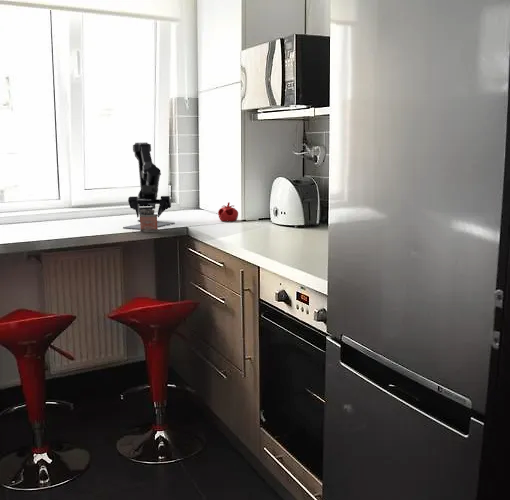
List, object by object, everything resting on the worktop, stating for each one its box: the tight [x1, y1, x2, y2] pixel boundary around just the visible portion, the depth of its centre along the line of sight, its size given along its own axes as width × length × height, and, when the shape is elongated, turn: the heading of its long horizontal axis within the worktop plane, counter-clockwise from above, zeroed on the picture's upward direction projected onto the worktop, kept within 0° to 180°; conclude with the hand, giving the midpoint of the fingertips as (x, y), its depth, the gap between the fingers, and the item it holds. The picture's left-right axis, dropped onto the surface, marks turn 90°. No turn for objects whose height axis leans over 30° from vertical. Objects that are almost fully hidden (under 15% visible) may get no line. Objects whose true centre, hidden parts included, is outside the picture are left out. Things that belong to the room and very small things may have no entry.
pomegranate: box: [217, 202, 239, 222], centre depth 297 cm, size 10×10×9 cm
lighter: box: [139, 209, 159, 233], centre depth 269 cm, size 8×3×10 cm, turn 84°
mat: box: [122, 220, 176, 231], centre depth 285 cm, size 13×22×1 cm, turn 148°
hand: (147, 216), depth 267 cm, fingers open, 9 cm apart
